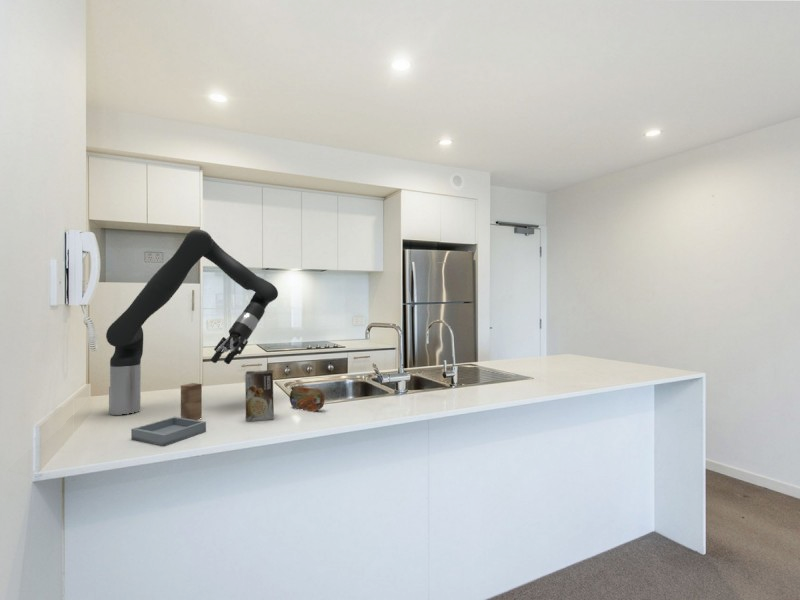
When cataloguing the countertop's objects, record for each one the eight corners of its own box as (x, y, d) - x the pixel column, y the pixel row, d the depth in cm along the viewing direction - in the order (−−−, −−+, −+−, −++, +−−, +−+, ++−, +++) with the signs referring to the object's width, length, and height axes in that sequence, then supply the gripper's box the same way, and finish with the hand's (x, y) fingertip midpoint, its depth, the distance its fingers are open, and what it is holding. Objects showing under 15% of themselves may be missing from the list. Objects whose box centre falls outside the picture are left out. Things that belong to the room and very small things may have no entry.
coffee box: (274, 414, 146) (274, 369, 146) (273, 419, 140) (273, 372, 140) (246, 416, 143) (246, 370, 143) (244, 421, 137) (244, 374, 137)
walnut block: (180, 420, 138) (180, 385, 138) (192, 417, 143) (192, 382, 143) (190, 422, 137) (190, 386, 137) (201, 418, 141) (201, 384, 141)
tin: (288, 408, 155) (288, 385, 155) (294, 406, 158) (294, 384, 158) (320, 413, 148) (320, 389, 148) (325, 411, 151) (325, 388, 151)
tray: (131, 439, 120) (131, 429, 120) (174, 425, 133) (174, 416, 133) (164, 446, 114) (164, 435, 114) (205, 431, 127) (205, 421, 127)
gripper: (226, 321, 159) (201, 356, 150) (248, 320, 151) (222, 357, 142) (240, 332, 164) (216, 367, 155) (262, 332, 156) (238, 369, 147)
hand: (219, 362), depth 148 cm, fingers open, 8 cm apart
